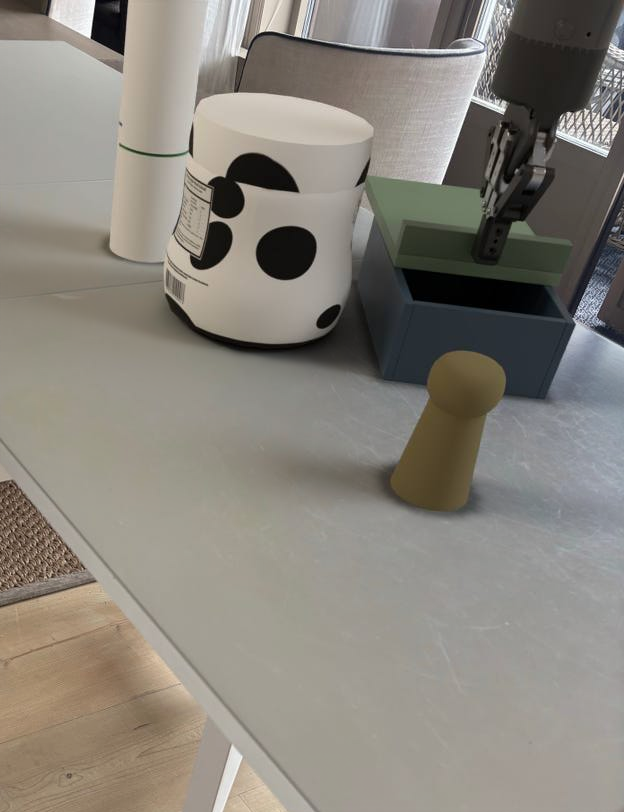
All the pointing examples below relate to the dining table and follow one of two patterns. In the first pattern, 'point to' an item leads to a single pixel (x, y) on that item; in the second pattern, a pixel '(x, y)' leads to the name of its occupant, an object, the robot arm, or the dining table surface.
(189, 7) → the cylindrical container
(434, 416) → the brown pawn
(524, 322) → the bin
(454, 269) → the bin lid
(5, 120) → the dining table surface
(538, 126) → the robot arm
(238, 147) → the milk container
